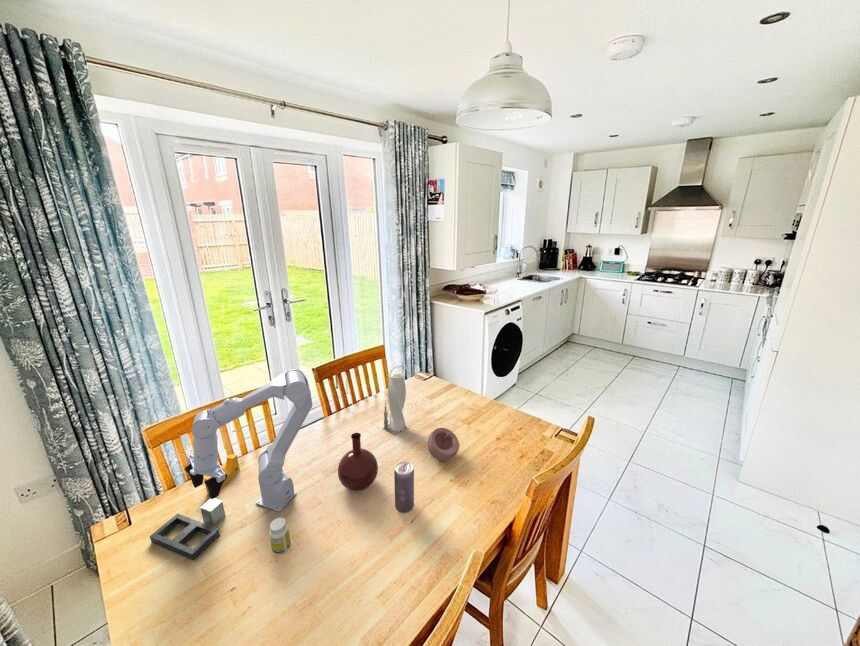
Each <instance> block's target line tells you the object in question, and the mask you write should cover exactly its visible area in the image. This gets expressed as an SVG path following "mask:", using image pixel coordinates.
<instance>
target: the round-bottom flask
mask: <svg viewBox="0 0 860 646" xmlns="http://www.w3.org/2000/svg"><path fill="white" fill-rule="evenodd" d="M361 436H362V434H361V433H359V432H354V433H351V435H350V438H351V443H352V444H351V445H352V449H351V450H348V452H346V453H345V454H344V455H343V456H342V457H341V459H340V460H339V463H338V467H337V476H338V479H339V482H340V484H341V485H342V486H343V487H344V488H345V489H347V490H349V491H352V492H361V491H364V490H366V489H368V488H370V487H371V486H372V484H373V483H374V482H375V481H376V479H377V476H378V471H379V464H378V461H377V459H376V456H375V455H374V454H373V452H371V451H370V450H368V449H365V448H362V444H361Z"/></svg>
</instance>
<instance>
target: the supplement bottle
mask: <svg viewBox="0 0 860 646" xmlns="http://www.w3.org/2000/svg"><path fill="white" fill-rule="evenodd" d="M289 529H290V528H289V525H288V523H287V522H286V519H285V518H283V517H277V518H275V519H273V520H272V521H271V523H270V524H269V538H270V544H271V550H272V552H273V554H275V555H282V554H284V553H286V552H287V551H288V550H289V549H290V547H291V545H292V544H291V542H292V541H291V536H290V530H289Z"/></svg>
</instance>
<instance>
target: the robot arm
mask: <svg viewBox="0 0 860 646" xmlns="http://www.w3.org/2000/svg"><path fill="white" fill-rule="evenodd" d="M311 392H312V391H311V389H310V385H309V380H308V378H307V377H306V375H305V373H304V372H303V371H302V370H300V369H297V368H293V369H290V370H287V371H286V372H285V373H281V374H279V375H278V376H277V377H275V378H274V379H272V380H271V381H269V382H267V383H266V384H264V385H262V386H260V387H258V388H257V389H255V390H254V391H252V392H249V394H246V395H245V396H242V397H240V398H239V397H235V396H234V397H232V398H226V399H224V400H223V402H222V403H220V404H217V406H214V407H212V408H211V407H210V408H207V409H205V410H201V411H199V412H198V413H196V415H195V417H194V419H193V423H192V426H191V434H192V435H193V439H192V440H193V441H192V443H193V445H192V446H193V453H191V454H190V455H187V457H186V460H187V463H188V465H186V466H185V467H184V471H185V472H186V473H187V475H189V476H188V477H189V478H190V481H191V483H192V485H193V487H194V488H195V489H197V488H198V487H200V486H202V485H203V484H204V485H205V484H206V486H207V488H208V491H209V494H208V495H209V500H210V499H214V498H215V499H217V497H219V496H220V493H221V490H222V488H223V487H222V485H223V483H224V481H225V480H226V478H227V477H228V475H227V474H226V473H225V472H223V470H222V468H221V467H222V466H221V465H220V464H221V463H220V462H219V459H218V456H219V455H218V449H219V448H218V447H219V446H218V433H217V432H218V431H217V430H218V429H220V428H221V427H224V426H226V425H228V424H229V423H231V422H233V421H236V420H237V419H238V418H241V417H243V416H244V415H245V413H246V411H247V410H248V409H249V408H251V407H254V406H256V405H258V404H260V403H263V402H266V401H267V400H269V399H272V398H273V397H274V398H277V399H281V400H285V397H286V399H288V400H289V401H290V402H292V403H293V405H292V406H291V409H290V411H289V413H288V415H287V416H286V418H285V420H284V421H283V423H282V425H281V427H280V429H279V430H278V432H277V434H276V436H275V438H274V440H273V442H272V443H271V444H269V445H268V446H267V448H266V449H265V450H264V451H263V452H262V453H260V455H259V456H258V458H257V459H258V477H257V479H258V484H259V485H258V486H259V490H260V496H261V497H259V499H257V500H256V501H255V504H256V505H258V506H261V507H264V508H267V509H271V510H273V511H276V512H281V511H282V510H283V509H284V508H285V507H286V506H287V505H288V503H289V502H290V501H291V500H292V499H293V497H295V495H296V494H297V492H296V491H295V487H294V483H293V479H292V478H291V477H289V476H287V475H286V474H285V472H284V470H283V467H284V464H285V460H286V454H287V453H288V451H289V449H290V448H291V446H292V444H293V442H294V440H295V439H296V437H297V435H298V433H299V431H300V429H301V427H302V426H303V425H304V422H305V421H306V419H307V417H308V415H309V413H310V411H311V409H313V400H312V393H311ZM206 476H210V477H212V478H210V479H208V480H206V481H205V482H204V478H205V477H206ZM206 486H205V487H206ZM221 487H222V488H221Z"/></svg>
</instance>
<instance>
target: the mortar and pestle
mask: <svg viewBox="0 0 860 646" xmlns="http://www.w3.org/2000/svg"><path fill="white" fill-rule="evenodd" d="M426 445H427V449H428V452H429V454H430V455H431V457H433V458H434V459H435V460H437V461H440V462H447V461H450V460H452V459H454V457H456V455H458V452H459V450H460V441H459V438H458V437H457V435H456V434H455V433H454V432H453V431H452V430H450V429H448V428H446V427H437V428H435V429H433V431H431V433H430V434H429V436H428V438H427V444H426Z"/></svg>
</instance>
